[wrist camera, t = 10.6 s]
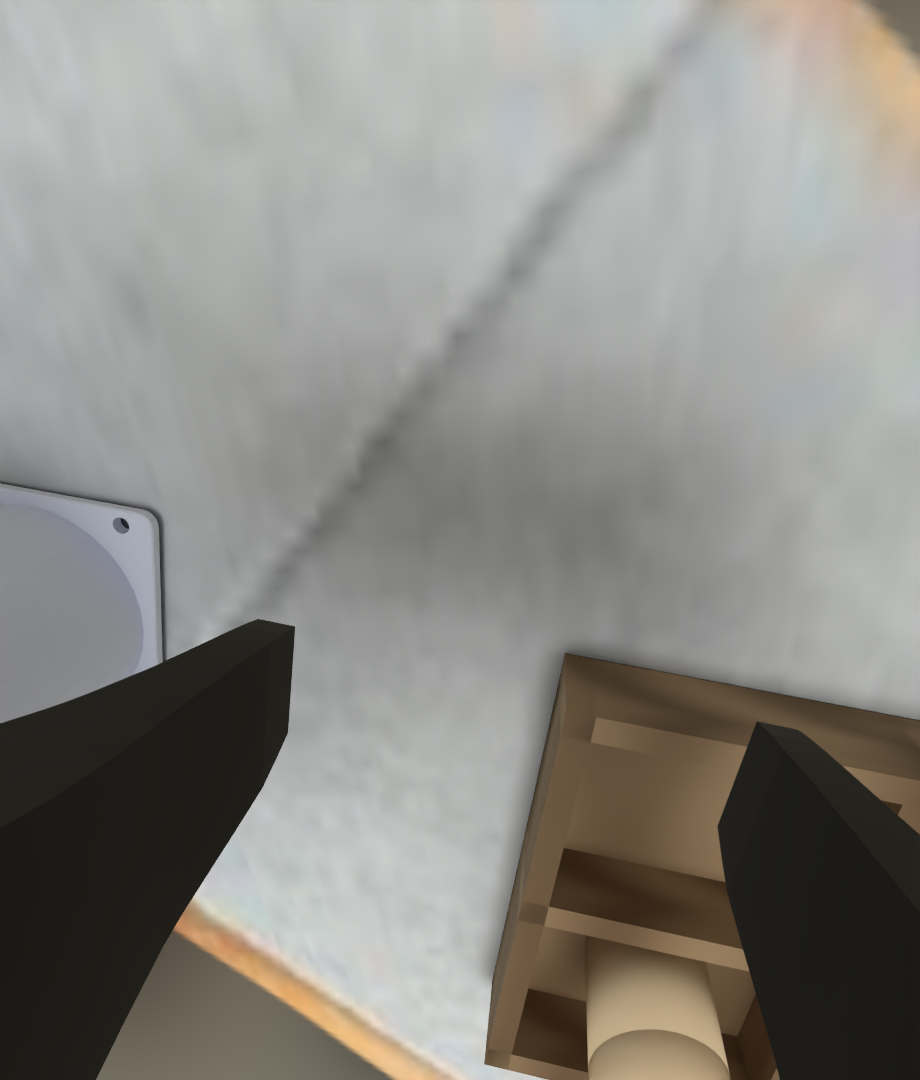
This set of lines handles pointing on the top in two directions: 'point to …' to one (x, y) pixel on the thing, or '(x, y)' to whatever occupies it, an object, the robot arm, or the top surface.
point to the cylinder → (650, 1015)
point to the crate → (652, 848)
